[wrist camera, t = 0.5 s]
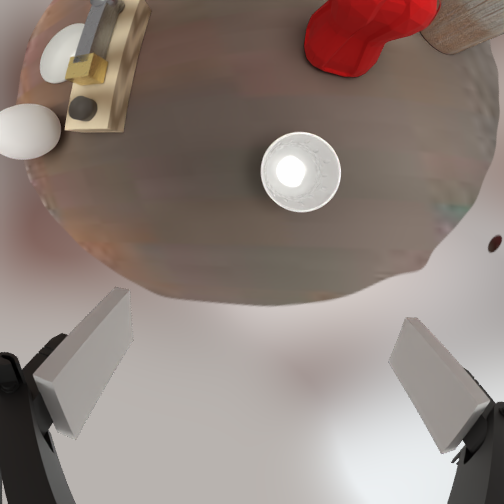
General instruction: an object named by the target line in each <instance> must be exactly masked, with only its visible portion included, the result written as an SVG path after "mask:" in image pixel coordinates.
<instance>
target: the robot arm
mask: <svg viewBox="0 0 504 504" xmlns="http://www.w3.org/2000/svg"><path fill="white" fill-rule="evenodd" d="M132 342H133V329H132V316H131V299H130V290H129V289H124V288H118V287H115V288H114V289H113V290H112V291H111V292H110V293H109V294H108V295H107V296H106V297H105V298H104V299H103V300H102V301H101V302H100V303H99V304H98V305H97V306H96V307H95V308H94V309H93V310H92V311H91V312H90V313H89V314H88V315H87V316H86V317H85V318H84V319H83V320H82V321H81V322H80V323H79V324H78V325H77V326H76V327H75V328H74V329H73V330H72V332H71V333H70V334H69V335H67V334H63V333H61V334H59V335H58V336H56V337H54V338H52V339H51V340H50V341H49V342H48V343H47V344H46V345H45V346H44V348H42V349H41V350H40V351H39V353H37V354H36V355H35V356H34V357H33V359H32V360H31V361H30V362H29V363H28V364H27V365H26V366H25V367H24V368H23V369H21V366H20V364H19V361H18V358H17V357H16V356H15V355H14V354H11V353H8V352H1V353H0V504H2V480H3V485H4V489H5V494H6V498H7V501H8V504H76V503H75V501H74V499H73V496H72V494H71V492H70V489H69V487H68V484H67V482H66V479H65V476H64V474H63V471H62V468H61V465H60V462H59V459H58V456H57V453H56V450H55V446H54V443H53V440H52V437H51V433H50V432H49V430H48V429H49V428H50V426H51V424H52V423H54V426H55V428H56V429H57V431H58V433H60V434H63V435H65V436H67V437H70V438H72V439H75V440H76V439H77V437H78V435H79V433H80V431H81V430H82V428H83V426H84V424H85V422H86V420H87V419H88V417H89V415H90V413H91V411H92V410H93V408H94V406H95V404H96V403H97V401H98V399H99V397H100V395H101V394H102V392H103V390H104V389H105V387H106V385H107V383H108V382H109V380H110V378H111V377H112V375H113V373H114V371H115V370H116V368H117V366H118V365H119V363H120V361H121V360H122V358H123V356H124V355H125V353H126V351H127V350H128V348H129V347H130V345H131V343H132ZM388 363H389V364H390V366H391V368H392V369H393V371H394V372H395V374H396V376H397V377H398V379H399V381H400V382H401V384H402V386H403V387H404V389H405V391H406V392H407V394H408V396H409V397H410V399H411V401H412V402H413V404H414V406H415V408H416V409H417V411H418V413H419V415H420V416H421V418H422V420H423V421H424V423H425V425H426V427H427V429H428V431H429V432H430V434H431V436H432V438H433V440H434V442H435V443H436V445H437V447H438V449H439V451H440V453H441V454H444V453H447V452H450V451H453V450H455V449H456V447H457V446H458V445H459V444H460V443H461V441H462V440H463V441H464V443H465V446H464V447H463V448H462V449H461V450H460V452H459V453H458V454H457V455H456V456H455V458H454V459H453V460H452V462H451V463H454V462H455V461H456V460H457V459H458V458H459V461H458V462H457V463H456V464H457V465H458V467H457V472H456V475H455V479H454V483H453V486H452V490H451V493H450V497H449V500H448V504H504V402H498V403H495V402H494V401H493V400H492V398H491V397H490V396H489V395H488V394H487V392H486V391H485V390H484V389H483V388H482V386H481V385H479V383H478V382H477V380H474V377H473V376H472V375H471V373H470V372H469V371H468V370H466V369H465V368H463V367H462V366H461V365H460V364H459V363H458V361H457V360H456V359H455V358H454V357H453V356H452V355H451V354H450V352H449V351H448V350H447V349H446V348H445V347H444V346H443V345H442V344H441V342H439V340H438V339H437V338H436V337H435V336H434V335H433V334H432V333H431V332H430V331H429V330H428V329H427V328H426V326H425V325H424V324H423V323H422V322H421V321H420V320H419V319H418V318H408V317H406V318H405V320H404V323H403V326H402V329H401V331H400V334H399V337H398V339H397V342H396V345H395V347H394V349H393V352H392V354H391V357H390V359H389V362H388Z"/></svg>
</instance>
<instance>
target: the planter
mask: <svg viewBox="0 0 504 504" xmlns="http://www.w3.org/2000/svg"><path fill="white" fill-rule="evenodd" d="M440 1H441V7H440V10H439V12H438V13H437V15H436V17H435V18H434V20H433V21H432V22H431V24H430V25H429V26H428V27H427V28H425V29H424V30H422V31H420V32H421V34H422V35H423V37H424V38H425V39H426V40H427V41H428V42H429V43H430V44H431V45H432V46H433V47H434V48H436V49H437V50H439V51H441V52H443V53H445V54H450V55H451V54H456V53H459V52H461V51H463V50H466V49H468V48H470V47H473V46H475V45H477V44H480V43H482V42H485V41H487V40H490V39H492V38H494V37H497V36H500V35H502V34H504V0H440ZM440 1H439V0H437V9H438V7H439V4H440Z"/></svg>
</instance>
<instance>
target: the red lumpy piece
mask: <svg viewBox="0 0 504 504" xmlns="http://www.w3.org/2000/svg"><path fill="white" fill-rule="evenodd" d="M439 1H440V0H439ZM440 7H441V1H440V4H439V7H438V9H437V0H328V1H327V2H326V3H325V4H324V5H323V6H322V7H320V8H319V9H318V10H317V11H316V12H315V13H314V14H313V15H312V16H311V18H310V20H309V23H308V26H307V29H306V36H305V43H304V47H305V53H306V58H307V60H308V61H309V62H310V63H311V64H312V65H313V66H315V67H317V68H319V69H321V70H323V71H325V72H329V73H333V74H337V75H340V76H343V77H359V76H361V75H363V74H365V73H366V72H367V71H368V70H369V69H370V68H371V67H372V66H373V65H374V64H375V63H376V62H377V60H378V58H379V56H380V53H381V51H382V49H383V47H384V45H385V43H387V42H388V41H391V40H395V39H399V38H403V37H407V36H411V35H413V34H415V33H417V32H419V31H422V30H424V29H425V28H427V27H428V26H429V25H430V24H431V22H432V21H433V20H434V18H435V17H436V15H437V13H438V12H439V10H440Z"/></svg>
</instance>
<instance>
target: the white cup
mask: <svg viewBox="0 0 504 504" xmlns="http://www.w3.org/2000/svg"><path fill="white" fill-rule="evenodd" d="M261 179H262V183H263V186H264V188H265V190H266V192H267V194H268V195H269V196H270V198H271V199H272V200H273V201H274V202H275V203H277V204H278V205H279V206H281V207H283V208H285V209H287V210H290V211H294V212H309V211H313V210H316V209H318V208H320V207H322V206H324V205H325V204H326V203H328V202H329V201H330V200H331V199H332V197H333V196H334V195H335V193H336V191H337V189H338V187H339V183H340V179H341V167H340V162H339V159H338V157H337V154H336V153H335V151H334V149H333V148H332V147H331V146H330V145H329V144H328V143H327V142H326V141H325V140H324V139H322V138H321V137H319V136H317V135H314V134H311V133H307V132H293V133H289V134H286V135H283V136H281V137H280V138H278V139H277V140H275V141H274V142H273V143H272V144H271V145H270V146H269V148H268V149H267V151H266V152H265V154H264V157H263V159H262V163H261Z"/></svg>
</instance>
